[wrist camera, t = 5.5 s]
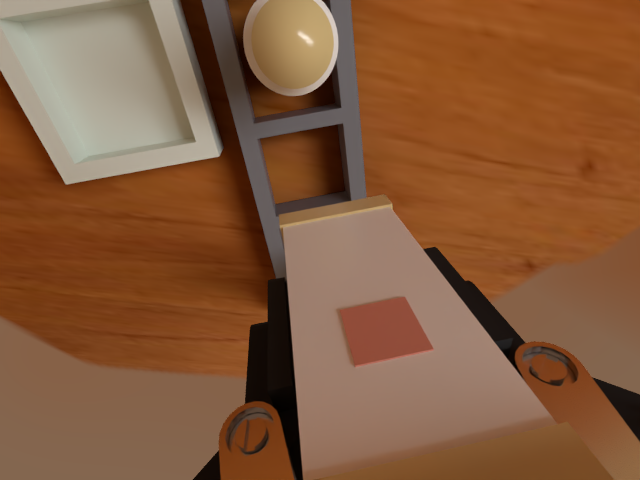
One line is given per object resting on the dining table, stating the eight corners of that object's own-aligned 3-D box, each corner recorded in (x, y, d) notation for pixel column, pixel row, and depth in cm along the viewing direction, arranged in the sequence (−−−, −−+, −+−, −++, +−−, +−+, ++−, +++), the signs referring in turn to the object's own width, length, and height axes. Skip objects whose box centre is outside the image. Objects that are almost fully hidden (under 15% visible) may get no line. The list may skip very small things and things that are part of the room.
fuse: (278, 214, 13) (301, 567, 4) (384, 194, 13) (622, 490, 4) (298, 297, 15) (339, 640, 6) (388, 278, 15) (550, 587, 6)
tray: (-8, 1, 19) (-43, -6, 17) (172, -27, 19) (160, -37, 17) (83, 173, 24) (65, 184, 22) (223, 147, 25) (219, 156, 22)
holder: (194, -48, 19) (185, -62, 17) (335, -70, 19) (343, -85, 17) (285, 301, 33) (287, 319, 30) (367, 285, 33) (374, 301, 31)
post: (243, 14, 21) (228, -11, 13) (311, 3, 21) (336, -28, 13) (259, 89, 23) (255, 105, 15) (320, 78, 23) (347, 89, 16)
